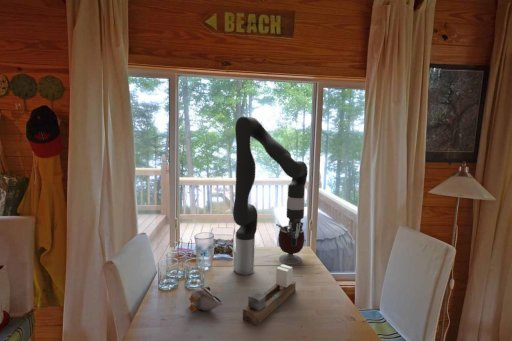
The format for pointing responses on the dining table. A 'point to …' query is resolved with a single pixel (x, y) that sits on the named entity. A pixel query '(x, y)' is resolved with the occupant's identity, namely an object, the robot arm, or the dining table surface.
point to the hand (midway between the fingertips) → (293, 245)
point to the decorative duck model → (203, 299)
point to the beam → (265, 302)
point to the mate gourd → (290, 246)
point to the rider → (284, 276)
